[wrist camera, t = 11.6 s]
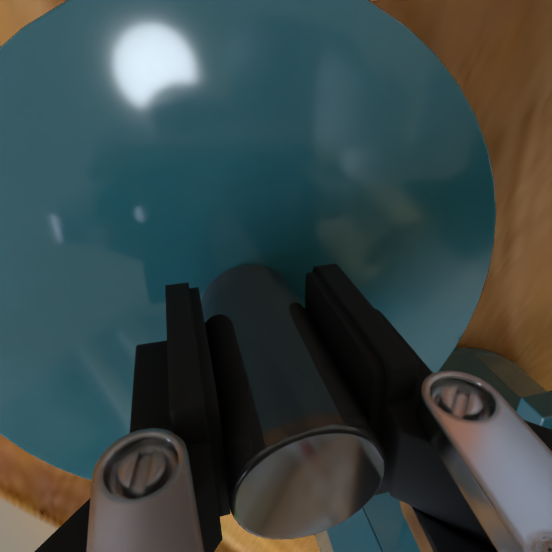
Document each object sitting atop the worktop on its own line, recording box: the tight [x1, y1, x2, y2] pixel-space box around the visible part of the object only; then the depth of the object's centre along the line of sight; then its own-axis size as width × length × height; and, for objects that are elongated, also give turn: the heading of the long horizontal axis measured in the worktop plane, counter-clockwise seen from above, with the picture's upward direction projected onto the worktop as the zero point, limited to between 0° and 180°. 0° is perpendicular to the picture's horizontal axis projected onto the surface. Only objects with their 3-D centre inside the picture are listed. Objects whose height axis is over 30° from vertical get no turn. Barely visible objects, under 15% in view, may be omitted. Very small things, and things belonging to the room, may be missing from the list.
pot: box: [315, 348, 552, 552], centre depth 21 cm, size 14×19×8 cm
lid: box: [0, 0, 496, 540], centre depth 9 cm, size 15×15×7 cm
